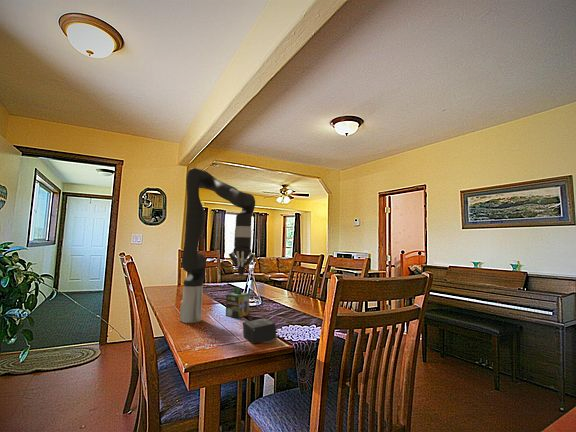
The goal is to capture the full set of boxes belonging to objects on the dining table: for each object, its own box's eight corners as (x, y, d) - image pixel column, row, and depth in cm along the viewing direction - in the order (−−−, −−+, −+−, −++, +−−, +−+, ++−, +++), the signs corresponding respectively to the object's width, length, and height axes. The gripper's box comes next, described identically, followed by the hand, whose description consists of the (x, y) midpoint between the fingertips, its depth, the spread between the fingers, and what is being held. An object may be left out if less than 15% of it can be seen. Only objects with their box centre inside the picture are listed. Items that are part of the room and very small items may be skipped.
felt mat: (259, 342, 123) (259, 340, 123) (270, 334, 133) (270, 333, 133) (269, 343, 122) (269, 342, 122) (279, 335, 132) (279, 334, 132)
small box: (243, 337, 129) (252, 344, 120) (242, 321, 129) (251, 327, 120) (266, 332, 134) (276, 339, 125) (265, 317, 134) (275, 322, 125)
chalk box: (249, 315, 165) (250, 287, 166) (238, 318, 158) (239, 289, 159) (236, 312, 170) (237, 285, 171) (224, 315, 163) (226, 287, 164)
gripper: (259, 236, 141) (258, 275, 140) (234, 236, 146) (232, 273, 144) (252, 236, 134) (250, 276, 133) (225, 235, 139) (224, 274, 137)
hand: (241, 274), depth 139 cm, fingers closed
